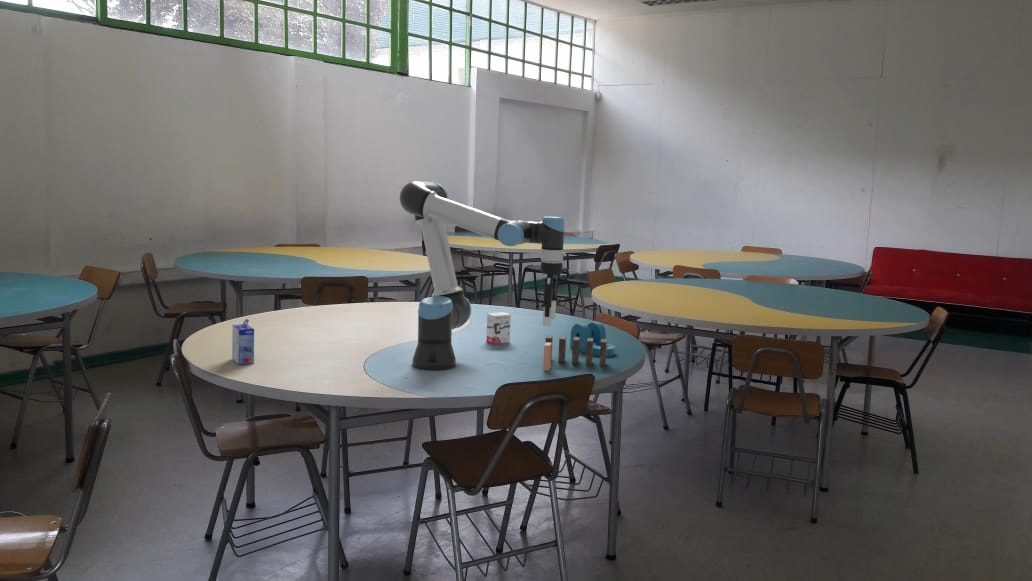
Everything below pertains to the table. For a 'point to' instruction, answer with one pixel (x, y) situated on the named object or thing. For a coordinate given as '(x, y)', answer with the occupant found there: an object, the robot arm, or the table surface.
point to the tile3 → (562, 349)
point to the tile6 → (603, 352)
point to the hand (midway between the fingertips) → (549, 322)
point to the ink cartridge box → (243, 343)
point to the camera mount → (591, 331)
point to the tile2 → (549, 341)
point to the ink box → (498, 327)
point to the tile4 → (575, 350)
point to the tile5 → (589, 351)
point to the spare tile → (547, 356)
